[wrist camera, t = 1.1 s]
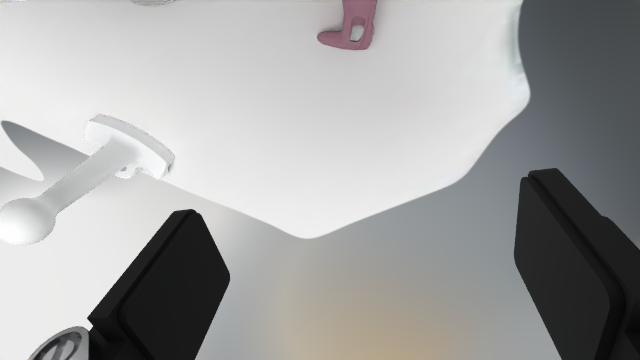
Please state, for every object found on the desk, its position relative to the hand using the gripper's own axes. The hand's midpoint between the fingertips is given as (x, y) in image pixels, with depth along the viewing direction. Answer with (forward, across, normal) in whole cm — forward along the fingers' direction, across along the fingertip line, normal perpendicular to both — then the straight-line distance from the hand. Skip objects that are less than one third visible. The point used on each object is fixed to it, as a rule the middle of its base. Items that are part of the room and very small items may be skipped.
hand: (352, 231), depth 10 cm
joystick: (+32, +34, +8) cm, 47 cm away
